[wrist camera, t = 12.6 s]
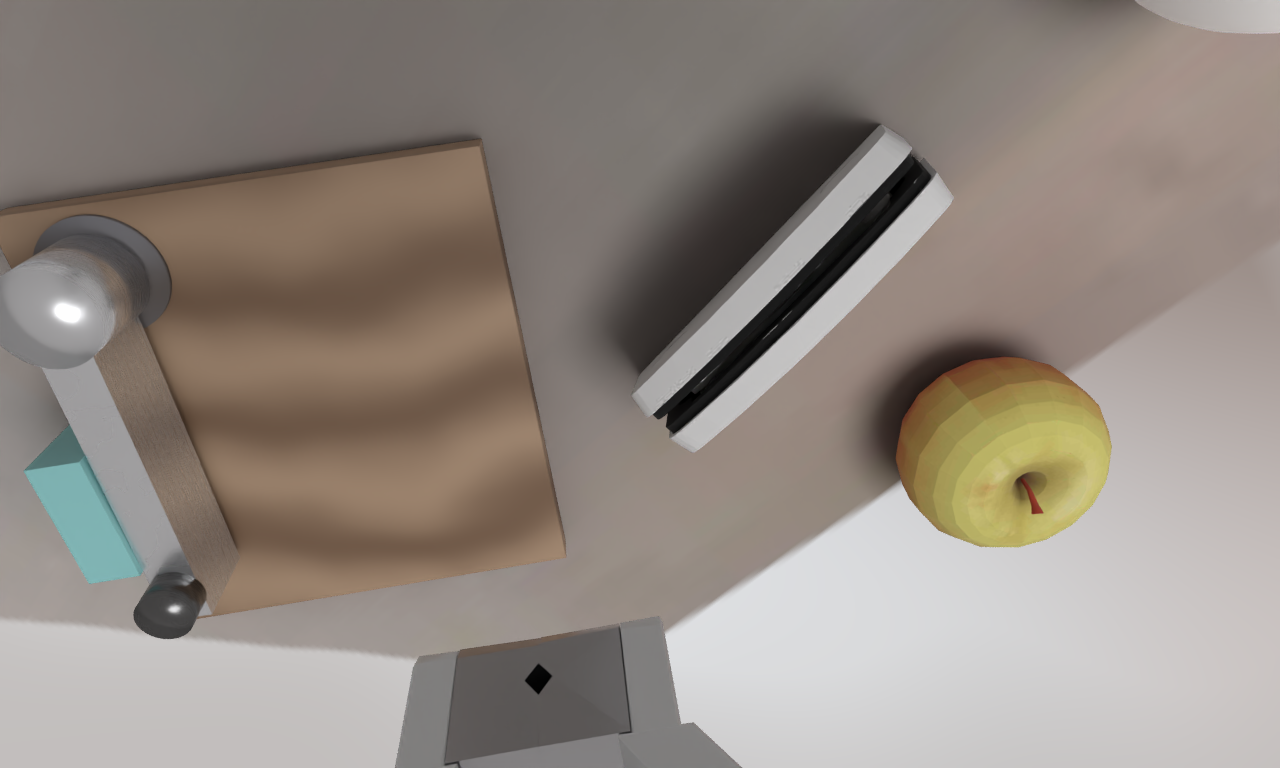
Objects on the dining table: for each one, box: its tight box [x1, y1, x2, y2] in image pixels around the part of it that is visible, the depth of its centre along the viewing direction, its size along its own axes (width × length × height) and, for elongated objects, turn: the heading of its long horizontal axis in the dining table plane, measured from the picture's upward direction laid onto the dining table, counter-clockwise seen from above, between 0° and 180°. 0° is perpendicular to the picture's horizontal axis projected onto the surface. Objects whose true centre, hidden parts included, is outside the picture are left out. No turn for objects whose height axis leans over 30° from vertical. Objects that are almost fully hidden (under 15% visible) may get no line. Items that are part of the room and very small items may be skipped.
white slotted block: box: [631, 124, 954, 452], centre depth 36 cm, size 17×5×10 cm, turn 138°
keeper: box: [24, 425, 143, 584], centre depth 37 cm, size 6×2×5 cm, turn 7°
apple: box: [896, 357, 1112, 547], centre depth 41 cm, size 10×10×8 cm
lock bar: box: [0, 234, 240, 639], centre depth 35 cm, size 17×4×6 cm, turn 6°
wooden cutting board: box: [0, 139, 566, 619], centre depth 39 cm, size 22×20×2 cm
